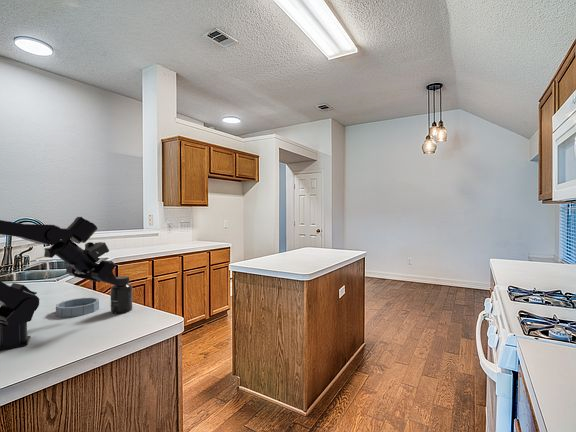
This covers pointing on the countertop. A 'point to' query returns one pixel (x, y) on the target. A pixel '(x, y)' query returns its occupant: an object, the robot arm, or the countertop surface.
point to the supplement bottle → (121, 296)
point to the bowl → (77, 307)
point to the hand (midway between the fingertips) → (108, 282)
